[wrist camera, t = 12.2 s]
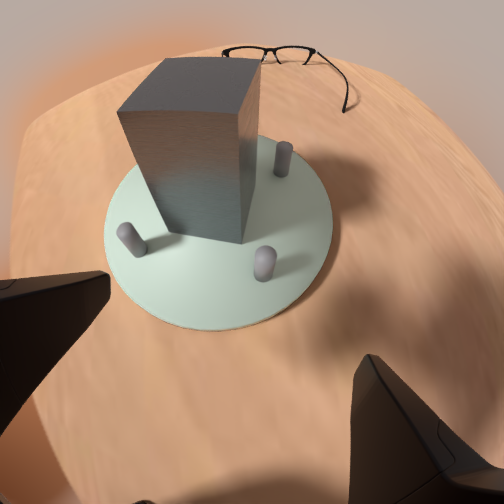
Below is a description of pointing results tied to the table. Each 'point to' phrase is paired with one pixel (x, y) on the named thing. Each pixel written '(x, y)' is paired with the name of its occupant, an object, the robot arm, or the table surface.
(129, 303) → the table surface
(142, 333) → the table surface
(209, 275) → the pin plate
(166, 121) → the block
